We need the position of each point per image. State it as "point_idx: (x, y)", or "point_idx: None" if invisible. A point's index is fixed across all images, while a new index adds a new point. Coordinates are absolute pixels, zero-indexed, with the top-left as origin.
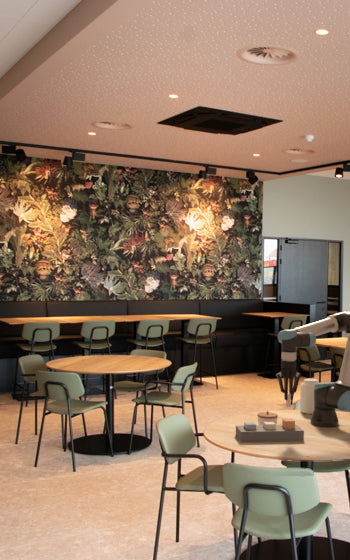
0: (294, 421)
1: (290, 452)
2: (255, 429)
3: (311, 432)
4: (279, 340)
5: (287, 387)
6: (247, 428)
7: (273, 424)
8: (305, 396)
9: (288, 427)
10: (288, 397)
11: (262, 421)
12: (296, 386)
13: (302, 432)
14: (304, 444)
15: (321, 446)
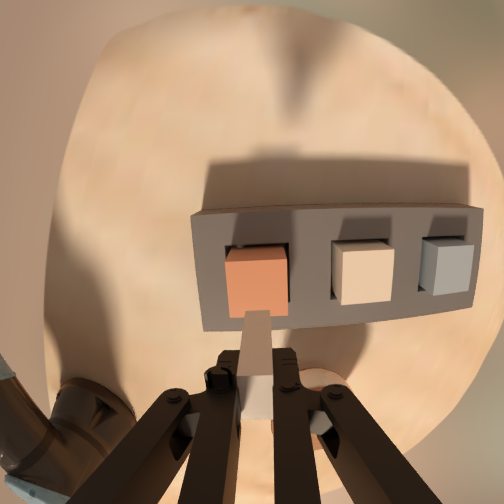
0: (228, 261)
1: (305, 47)
2: (429, 241)
3: (144, 331)
4: None
5: (281, 437)
6: (461, 240)
7: (354, 251)
8: None
9: (265, 251)
10: (264, 353)
11: (346, 384)
12: (138, 439)
13: (199, 214)
14: (213, 152)
15: (150, 126)
